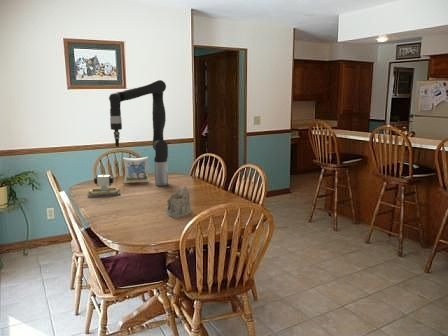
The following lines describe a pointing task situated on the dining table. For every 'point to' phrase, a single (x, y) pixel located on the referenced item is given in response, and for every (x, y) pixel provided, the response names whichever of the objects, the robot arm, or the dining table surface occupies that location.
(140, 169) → the pouch
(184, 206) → the grey rock
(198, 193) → the dining table surface
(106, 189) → the pneumatic valve
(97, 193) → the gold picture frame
